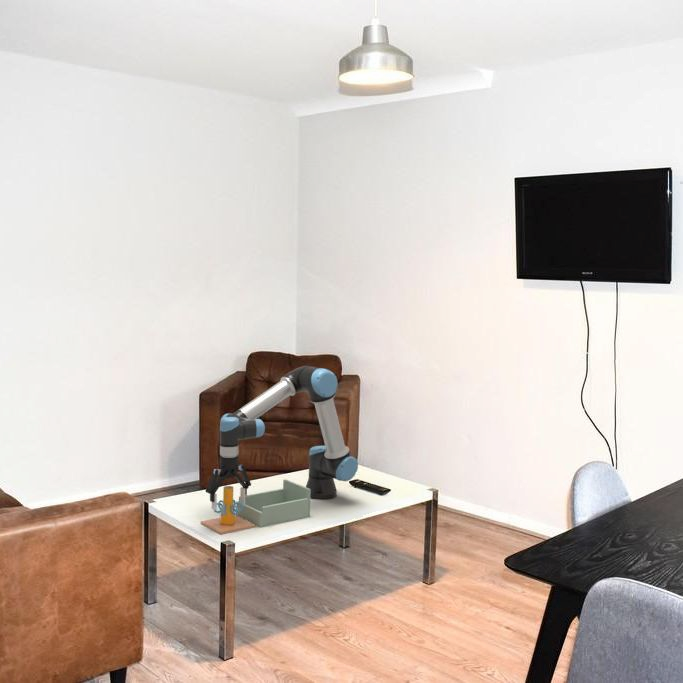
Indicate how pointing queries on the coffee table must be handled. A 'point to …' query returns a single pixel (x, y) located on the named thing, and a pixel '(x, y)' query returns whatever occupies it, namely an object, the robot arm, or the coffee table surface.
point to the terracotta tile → (223, 529)
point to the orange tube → (228, 507)
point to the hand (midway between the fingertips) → (228, 506)
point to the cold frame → (276, 505)
